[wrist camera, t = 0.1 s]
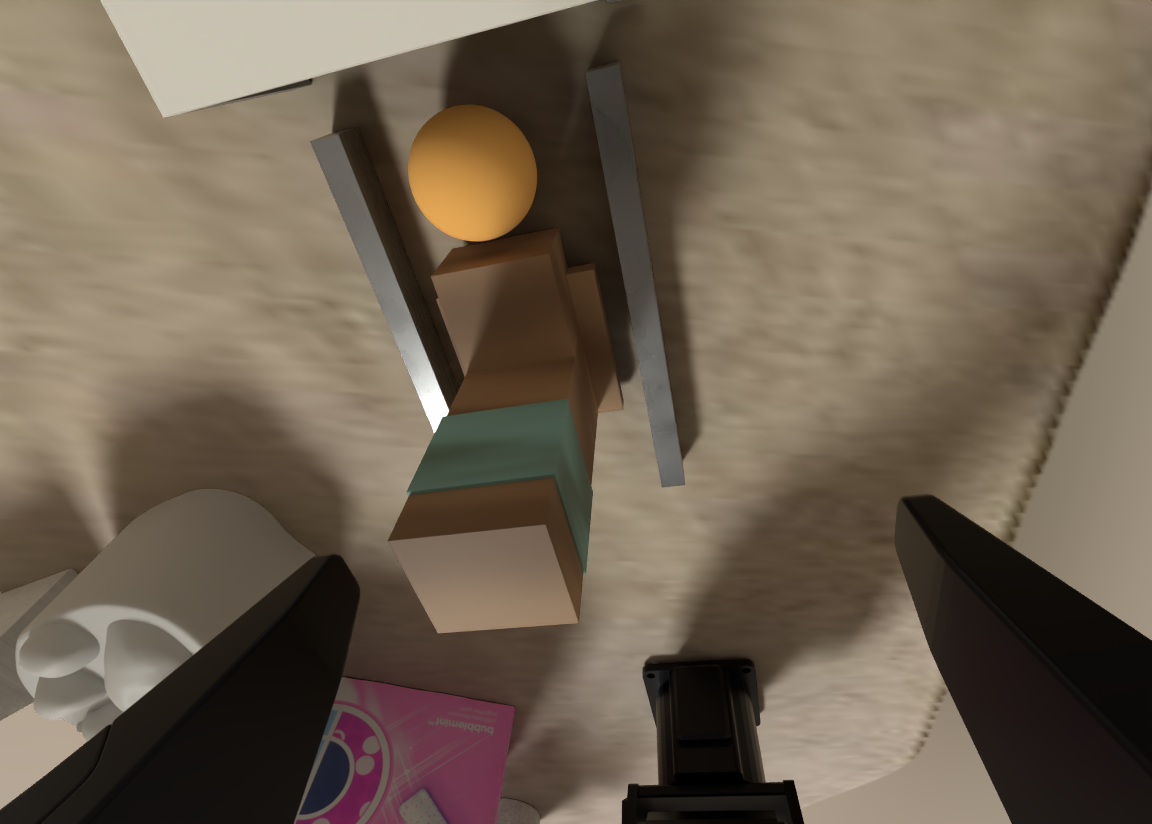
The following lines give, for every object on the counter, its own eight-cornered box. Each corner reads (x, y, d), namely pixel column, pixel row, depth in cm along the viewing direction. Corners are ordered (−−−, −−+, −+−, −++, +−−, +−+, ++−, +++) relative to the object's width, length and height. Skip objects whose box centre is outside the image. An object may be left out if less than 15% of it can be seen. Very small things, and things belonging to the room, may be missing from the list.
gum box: (181, 706, 43) (21, 950, 32) (156, 640, 39) (-41, 898, 27) (507, 760, 44) (462, 1020, 32) (518, 702, 39) (472, 979, 28)
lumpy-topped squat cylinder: (362, 593, 34) (290, 746, 27) (217, 650, 39) (122, 795, 31) (221, 468, 30) (89, 613, 22) (75, 549, 34) (-74, 692, 27)
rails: (682, 461, 27) (685, 484, 25) (475, 486, 29) (467, 509, 27) (619, 61, 18) (618, 64, 17) (331, 133, 20) (309, 141, 19)
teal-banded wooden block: (623, 400, 25) (617, 625, 16) (487, 419, 26) (407, 640, 17) (586, 221, 21) (548, 382, 12) (427, 254, 22) (279, 424, 13)
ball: (556, 209, 21) (542, 245, 18) (451, 231, 22) (418, 269, 18) (527, 83, 19) (504, 98, 16) (412, 112, 20) (367, 132, 16)
